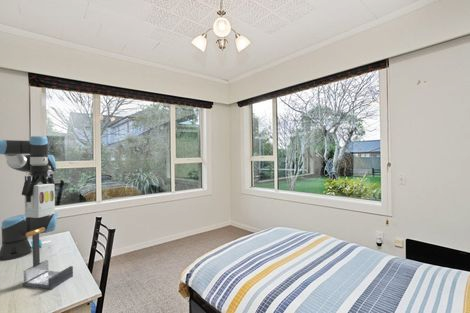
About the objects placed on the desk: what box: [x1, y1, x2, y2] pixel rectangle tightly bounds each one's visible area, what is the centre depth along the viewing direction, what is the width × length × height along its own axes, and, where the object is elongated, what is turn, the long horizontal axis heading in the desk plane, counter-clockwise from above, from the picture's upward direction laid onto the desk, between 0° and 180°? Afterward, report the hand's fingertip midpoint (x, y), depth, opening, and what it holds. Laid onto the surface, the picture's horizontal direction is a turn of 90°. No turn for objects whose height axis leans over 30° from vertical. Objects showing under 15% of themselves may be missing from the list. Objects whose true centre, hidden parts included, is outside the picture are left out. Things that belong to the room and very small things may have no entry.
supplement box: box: [24, 183, 56, 218], centre depth 129 cm, size 10×9×17 cm
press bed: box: [21, 265, 74, 291], centre depth 117 cm, size 12×16×5 cm
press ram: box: [23, 227, 49, 282], centre depth 118 cm, size 11×2×23 cm, turn 171°
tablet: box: [29, 239, 52, 249], centre depth 163 cm, size 20×12×2 cm, turn 44°
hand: (40, 205), depth 129 cm, fingers closed on supplement box, 10 cm apart
